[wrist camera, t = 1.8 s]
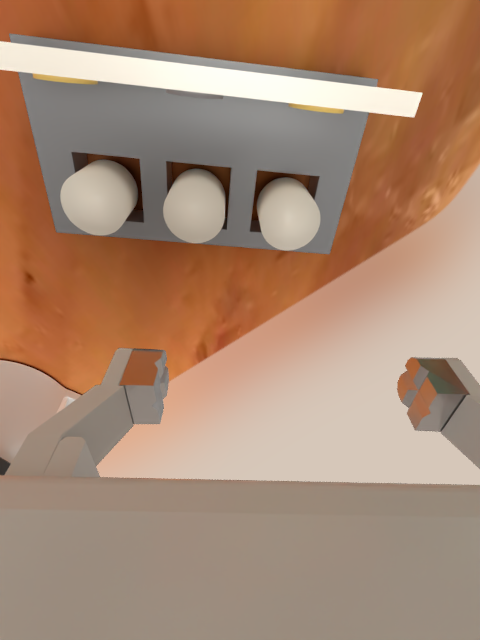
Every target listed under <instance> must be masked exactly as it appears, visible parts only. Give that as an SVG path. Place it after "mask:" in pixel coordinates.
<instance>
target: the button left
mask: <svg viewBox="0 0 480 640" xmlns="http://www.w3.org/2000/svg"><path fill="white" fill-rule="evenodd" d="M60 199H61V204H62V208H63V210H64V212H65V214H66V215H67V217H68V218H69V220H70V221H71V222H72V223H73V224H74V225H75V226H77V227H78V228H79V229H81V230H83V231H85V232H87V233H89V234H93V235H100V236H103V235H109V234H112V233H114V232H116V231H117V230H118V229H119V228H120V227H121V226H122V225H123V223H124V222H125V220H126V219H127V217H128V216H129V215H130V213H131V212H132V210H133V209H134V207H135V206H136V204H137V200H138V188H137V184H136V182H135V180H134V178H133V176H132V175H131V173H130V172H129V171H128V170H127V169H126V168H125V167H123V166H122V165H120V164H119V163H117V162H114V161H111V160H105V159H102V160H96V161H94V162H92V163H90V164H88V165H87V166H85V167H84V168H82V169H81V170H79V171H78V172H76V173H75V174H73V175H72V176H70V177H69V178H68V179H67V180H66V181H65V182H64V184H63V186H62V188H61V194H60Z"/></svg>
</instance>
